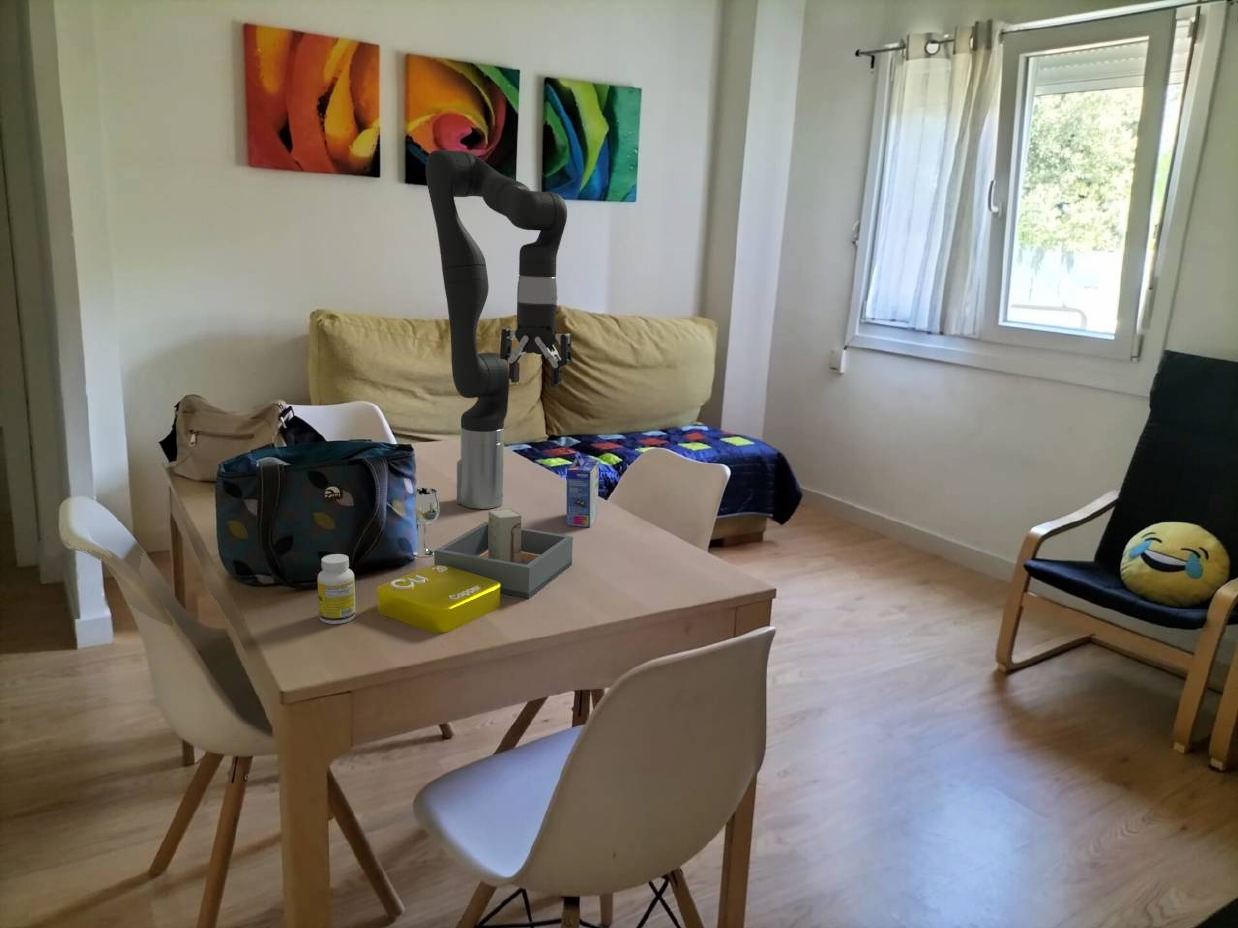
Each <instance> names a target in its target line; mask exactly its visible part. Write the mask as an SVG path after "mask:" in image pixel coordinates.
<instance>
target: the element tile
mask: <svg viewBox="0 0 1238 928" xmlns="http://www.w3.org/2000/svg"><path fill="white" fill-rule="evenodd" d="M501 595H502V594H501V584H500V583H499V582H498V581H495V580H492V579H489V578H485V577H482V576H479V575H476V574H473V573H469V572H466V571H463V570H460V569H457V568H453V567H450V566H447V565H443V564H435V565H434V564H432V565H429V566H426V567H424V568H421V569H419V570H416V571H413V572H411V573H408V574H405V575H404V576H401V577H397V578H395V579H393V580H390V581H387V582H384V583H382V584H381V585H379V586H377V588H376V603H377V604H376V607H377V612H378V613H379V614H380V615H383V616H386V617H389V618H392V619H395V620H398V621H400V622H403V623H406V624H408V625H412V626H414V627H416V628H419V629H422V630H424V631H428V632H431V633H435V634H445V633H450V632H452V631H454V630H457V629H459V628H460V627H463V626H464V625H465V626H466V625H467V624H469V623H471V622H473V621H475V620H477V619H480V618H481V617H484V616H486V615H488V614H491V613H492V612H495V611H496V610H498V609H500V608H501V600H502V599H501V597H502V596H501Z"/></svg>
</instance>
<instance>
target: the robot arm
mask: <svg viewBox="0 0 1238 928" xmlns="http://www.w3.org/2000/svg"><path fill="white" fill-rule="evenodd" d="M425 178H426V185H427V189H428V194H429V195H428V196H429V198H430V202H431V209H432V211H433V216H434V222H435V226H436V232H437V238H438V239H437V240H438V245H439V252H440V261H441V271H442V279H443V285H444V286H443V287H444V291H445V297H446V303H447V304H446V305H447V311H448V321H449V330H450V351H451V353H450V354H451V356H450V357H451V371H452V378H453V383H454V386H455V388H456V391H457V393H458V394H459V395H460V396H462V397H463V398H465V399H476V398H477V400H476V402H475V404H473V405H472V406H471V407H470V408H469V409H468V410H466V411H464V412H463V413H461V416H460V460H458V461H457V462H456V504H459V505H462V506H463V507H466V508H470V509H478V510H483V509H485V510H486V509H494V508H498V507H500V506H502V505H503V501H504V499H503V497H504V493H503V491H504V448H505V446H504V442H505V440H504V439H505V437H504V436H505V433H504V432H505V429H504V428H505V419H506V417H507V416H508V415H507V414H508V409H509V408H508V407H509V392H510V381H511V383H514V384H516V383H519V381H520V368H521V367H520V365H521V364H520V360H521V358H522V357H523V356H524V355H525V354H536V355H543V356H544V358H545V359H547V360H548V362H549V363H550V365H551V366H552V367H551V369H550V387H551V388H557V387H559V385H560V384H561V383H562V376H563V375H562V372H563V371H562V369H563V367H564V366H565V367H566V366H568V365H571V364H572V363H573V362H572V361H573V356H572V351H573V350H572V335H571V333H569V332H567V333H557V330H556V327H557V306H558V305H557V301H558V295H557V294H558V287H557V286H558V285H557V259H558V257H557V255H558V251H559V248H560V244H561V241H562V239H563V234H564V230H565V228H566V224H567V220H568V219H567V218H568V209H567V204H566V202H565V199H564V198H563V197H562V195H560V194H558V193H556V192H552V191H551V192H550V191H535V190H531V188H530V187H528V186H527V184H524V183H523V182H520V181H518V180H517V179H515V178H511V177H508V176H506V175H503V174H501V173H500V172H498V171H497V170H495V169H494V168H493V167H491V166H490V165H489V164H488V163H486V162H485V160H483V159H481V158H480V157H479V156H478V155H475V154H474V153H471V152H469V151H463V150H449V149H448V150H445V149H440V150H439V149H438V150H437V149H436V150H432V151H431V152H430V153H429V154H428V156H427V159H426V163H425ZM468 197H480V198H482V200H483V202H484V203H485V204H486V206H487V207H488V208H490V209H491V210H492V211H494V212H496V213H498V214H500V215H502V216H504V217H506V218H507V219H508V221H509V222H510V223H511V224H512V225H513V226H514V227H516V228H518V229H521V230H526V231H539V232H538V233H539V234H538V236H537V238H536V240H535V241H533V242H530V243H526V244H523V245H521V247H520V249H519V256H518V257H519V258H518V259H519V260H518V263H519V264H518V266H519V267H518V268H519V269H518V275H519V276H518V281H517V292H516V293H517V295H516V324H517V325H516V329H513V328H512V327H506V328H503V329H501V332H500V333H501V334H500V348H499V351H500V352H499V353H497V352H481V353H479V351H478V344H477V331H478V329H477V328H478V324H479V321H480V318H481V315H482V313H483V310H484V307H485V305H486V302H487V299H488V297H489V296H488V294H489V288H490V287H489V279H488V270H487V269H488V268H487V262H486V259H485V255H484V253H483V251H482V249H480V248H481V247H480V246H479V245H478V244H477V242H476V241H475V239H474V238H473V237H472V236H471V234H470V233H469V231H468V230H467V228H466V227H465V225H464V224H463V222H462V220H461V218H460V216H459V212H458V209H457V206H456V203H455V198H468ZM514 339H516V341H517V342H518V344H517V345H516V346H515V348H514V349H513V351H512V347H513V346H512V345H513V340H514ZM556 341H557V342H558V344H559V346H560V355H559V352H558V350H557V348H556V347H555V345H554V344H555V343H556Z"/></svg>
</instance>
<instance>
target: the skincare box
mask: <svg viewBox="0 0 1238 928" xmlns="http://www.w3.org/2000/svg"><path fill="white" fill-rule="evenodd" d="M488 522H489V524H488V558H491V559H496V560H502V561H507V562H513V563H518V564H521V528H522V515H521V514H520V513H518V512H517V511H515V510H513V509H511V508H505V509H503V508H502V509H495V510H488Z"/></svg>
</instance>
